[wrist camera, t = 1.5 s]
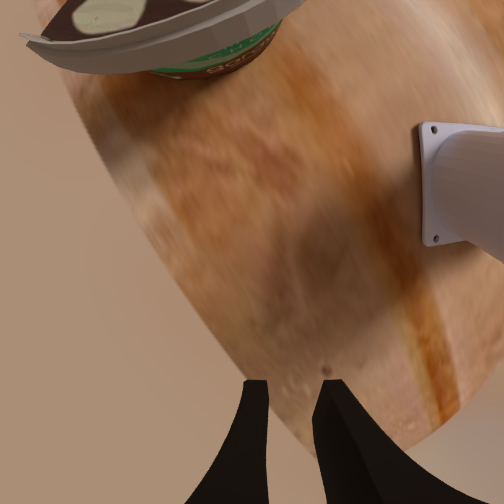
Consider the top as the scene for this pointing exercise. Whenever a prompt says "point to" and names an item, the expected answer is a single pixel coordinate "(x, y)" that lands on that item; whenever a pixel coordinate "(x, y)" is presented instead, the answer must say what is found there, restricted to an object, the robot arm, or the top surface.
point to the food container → (160, 35)
